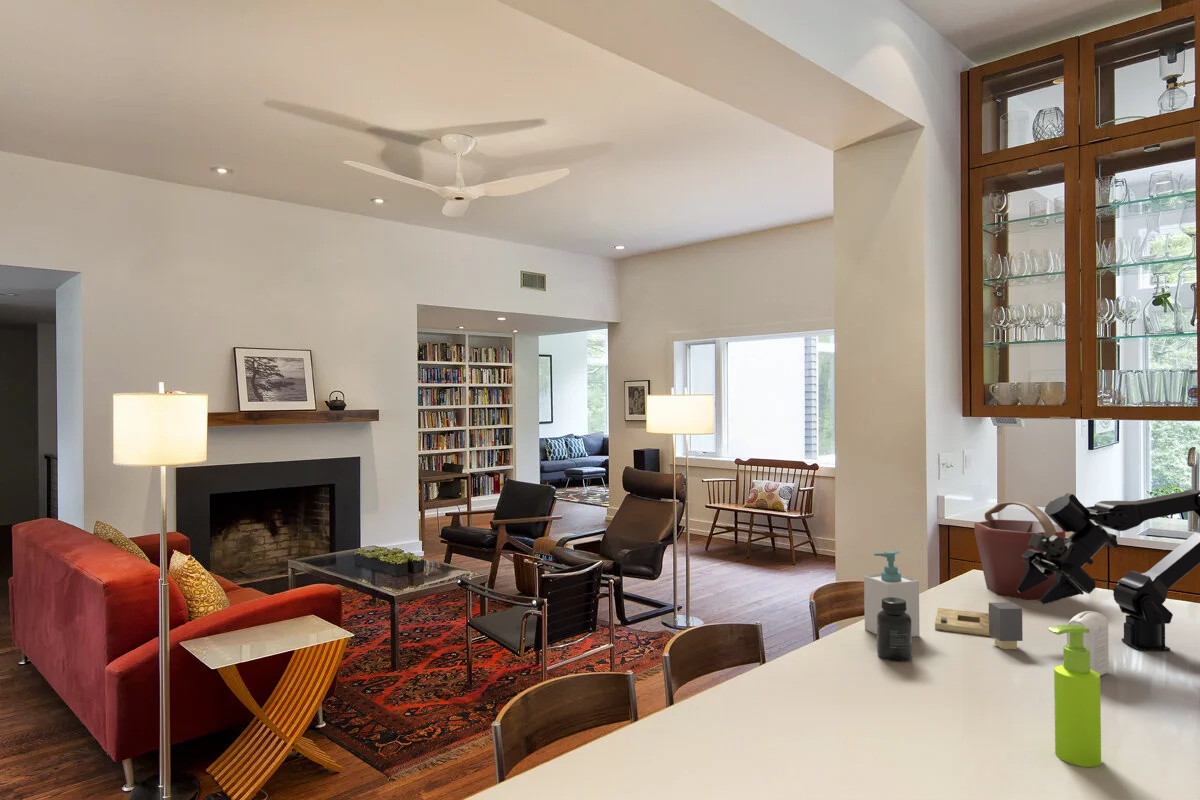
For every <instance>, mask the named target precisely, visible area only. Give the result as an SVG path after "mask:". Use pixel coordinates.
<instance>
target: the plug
mask: <svg viewBox="0 0 1200 800" xmlns="http://www.w3.org/2000/svg"><path fill="white" fill-rule="evenodd" d="M988 613H989V634H990V635H991V636H990V637H992V636H993V637H992V638H993V639H994V645H996V646H997V648H1000V649H1001V650H1017V649H1018V642H1022V641H1024V639H1023V638H1024V637H1023V636H1024V635H1023V608H1021V607H1020V606H1018V605H1016V604H1015V603H1012V602H988Z"/></svg>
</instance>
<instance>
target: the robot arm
mask: <svg viewBox="0 0 1200 800" xmlns="http://www.w3.org/2000/svg"><path fill="white" fill-rule="evenodd" d="M1188 512H1193V514H1195V516H1197V517H1199V518H1200V490H1199V489H1193V488H1191V489H1186V490H1183V491H1180V492H1176V493H1175V492H1174V493H1170V494H1169V493H1168V494H1164V495H1159V496H1154V497H1148V498H1143V499H1139V500H1131V501H1130V500H1129V501H1128V500H1101V501H1098V502H1096V503H1095V504H1094V506H1084V504H1083V503H1081V501H1080V500H1079V499H1078V498H1077V496H1076V495H1075V494H1073V493H1069V492H1067V493H1065V495H1063V496H1060V497H1058V498H1056V499H1053V500H1052V501H1050V502H1049V503H1047V505H1046V506H1045V509H1044V513H1045V514H1046V515H1047V516H1048V518H1049V519H1050V520H1052V521H1053V522H1054V523H1055V525H1058V526H1059V527H1060V528H1061V529H1062V530H1063V531H1065V533H1070V532H1071V533H1072V534H1070V536H1069V537H1068V538H1067V539H1065V540H1064V539H1062V538H1060V537H1058V536H1054V535H1053V536H1052V537H1051V538H1049V537H1046V536H1043V535H1040V534H1037V533H1033V535H1032V537H1031V539H1030V541H1029V543H1028V545H1029V546H1031V547H1035V548H1037V549H1040V550H1042V551H1044V553H1043V554H1044V555H1045V556H1046V557H1047V558H1048V559H1049V560H1048V559H1047V558H1046V557H1045V556H1044V555H1043V554H1042V553H1041V552H1039V551H1036V550H1033V549H1027V550H1026V551H1025V552H1024V553H1023V554H1022V557H1024V558H1023V561H1024V562H1025V567H1026V569H1025V572H1024V574H1023V576H1022V579H1021V581H1020V583H1019V585H1018V587H1017V591H1018V592H1019V593H1022V592H1024V591H1027V590H1028V589H1030V588H1032V587H1034V586H1036V585H1038V584H1040V583H1042V582H1044V581H1045V580H1047V579H1048V578H1047V577H1046V576H1050V575H1052V574H1053V573H1056V577H1055V582H1054V583H1053V584H1052V585H1051V587H1050V588H1049V589H1048V590H1047V591H1046V593H1045V594H1044V595H1043V596H1042V598H1041V599H1040V600H1039V602H1040V603H1041V604H1042V605H1047V604H1051V603H1053V602H1057V601H1059V600H1063V599H1066V598H1070V597H1075V596H1078V595H1084V593H1086V594H1087V595H1091V593H1092V592H1093V591H1094V590H1095V589H1096V581H1095V580H1094V578H1093V577H1091V576H1090V575H1089V573H1087V572H1086V571H1085V570H1084V569H1083V567H1084V566H1085V565H1089V566H1091V565H1092V564H1093V563H1094V561H1093V560H1092V558H1093V557H1094V556H1095V555H1096V554H1097V553H1098V552H1100V550H1101V549H1102V548H1103V547H1104V546H1108V547H1112V548H1115V549H1117V548H1118V547H1119V544H1118V540H1117V537H1118V535H1116V534H1114V533H1109V532H1108V531H1107V530H1106V529H1111V530H1114V531H1116V532H1126V531H1128V530H1130V529H1133V528H1136V527H1139V526H1140V525H1141V524H1142V523H1143V522H1145V521H1148V520H1151V519H1153V520H1154V519H1158V518H1162V517H1168V516H1172V515H1178V514H1183V513H1188ZM1092 521H1093V522H1094V523H1095V524H1094V523H1093V522H1092ZM1105 528H1106V529H1105ZM1199 564H1200V520H1199V521H1198V526H1197V530H1196V531H1195V532H1194V533H1193V534H1192V535H1190V536H1189V537H1187V539H1185V541H1183V542H1182V543H1180V544H1179V545H1178V546H1177V547H1176V548H1175V549H1173V550H1171V552H1170V553H1168V554H1167V555H1166V556H1165V557H1163V558H1162V559H1161V560H1159V562H1157V563H1155V564H1154V566H1152V567H1151V568H1150V569H1149V570H1147V571H1146V572H1142V573H1141V572H1138V571H1134V570H1130V571H1128V572H1127V573H1125V575H1124V576H1123V577H1122V578H1120V579H1118V580H1116V581H1115V582H1116V584H1115V586H1114V587H1113V589H1112V590H1113V594H1112V595H1113V600H1114V601H1115V603H1116V604H1117V605H1118V606H1119V609H1120V611H1121V613H1123V614H1126V615H1125V622H1124V623H1123V637H1122V638H1121V641H1122V642H1123V643H1125V644H1127V645H1129V646H1131V647H1133V648H1135V649H1137V650H1138V651H1162V652H1163V651H1168V652H1169V651H1171V647H1169V646H1166V624H1168V625H1169V624H1171V622H1172V619H1173V616H1174V615H1173V613H1172V612H1171V611H1170V610H1169V609H1168V608H1167V607H1166V606H1165V605H1164V603H1165V601H1166V600H1167V595H1168V592H1169V589H1170V588H1172V586H1174V585H1175V584H1177V582H1179V581H1180V580H1181V579H1182V578H1183V577H1185V576H1186V575H1187V574H1189V572H1191V571H1192V570H1193V569H1194V568H1196V567H1197V566H1198V565H1199Z"/></svg>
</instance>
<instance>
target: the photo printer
mask: <svg viewBox="0 0 1200 800" xmlns="http://www.w3.org/2000/svg"><path fill="white" fill-rule="evenodd" d="M1067 625H1080V626H1083V627H1085V628H1088V629H1089V633H1083V646H1084V647H1086V648H1087V649H1089V650H1090V669H1091V670H1094V671H1096V672H1097V673H1099V674H1100V677H1101V676H1104V675H1106V674H1108V672H1109V669H1110V662H1109V661H1110V660H1109V657H1110V654H1109V653H1110V652H1109V651H1110V650H1109V649H1110V648H1109V645H1110V644H1109V621H1108V619H1107V617H1106V616H1105V615H1104V614H1102V613H1100V612H1098V611H1093V610H1085V611H1082V612H1080V613H1077V614H1076V615H1074V616H1073V617H1072V618H1071V619H1070V620H1069V622H1068V623H1067ZM1066 641H1067V642H1066V645H1068V644H1070V633H1066Z"/></svg>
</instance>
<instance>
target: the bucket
mask: <svg viewBox="0 0 1200 800" xmlns="http://www.w3.org/2000/svg"><path fill="white" fill-rule="evenodd" d="M1010 505H1016V506H1017V505H1018V506H1020V507H1023V508H1025V509H1026V510H1027V511H1029V513H1030V514H1033V516H1035V518H1036V519H1037V520H1038V521H1035V520H1020V519H1019V520H1018V519H1017V520H1016V519H996V518H994V517H993V515H992V514H996V513H1000V512H1001V511H1003V510H1004V509H1005V508H1006V507H1007V506H1010ZM983 515H984V520H982V521H976V522H974V536H975V541H976V545H977V549H978V553H979V554H978V555H979V559H980V563H981V567H982V571H983V576H984V582H985V585H986V589H987V590H989V591H990V592H992V593H994V594H995V595H997V596H1001V597H1006V598H1012V599H1019V600H1023V601H1037V600H1038V601H1040V599H1041V598H1042V596H1043V595H1044V594H1045V593H1046V591H1047V590H1048V589H1049V588H1050V587H1051V585H1052V584H1053V583H1054V582H1055V577H1056V573H1053V574H1052V575H1050V576H1046V577H1047V578H1048V579H1047V580H1045V581H1044V582H1042V583H1040V584H1038V585H1036V586H1034V587H1032V588H1030V589H1028V590H1027V591H1024V592H1022V593H1019V592H1018V591H1017V587H1018V585H1019V583H1020V581H1021V579H1022V576H1023V574H1024V572H1025V569H1026V567H1025V562H1024V561H1023V558H1024V557H1022V554H1023V553H1024V552H1025V551H1026V550H1027V549H1033V550H1036V551H1039V552H1041V553H1042V554H1043V553H1044V551H1042V550H1040V549H1037V548H1035V547H1031V546H1029V545H1028V543H1029V541H1030V539H1031V537H1032V535H1033V533H1037V534H1040V535H1043V536H1046V537H1049V538H1051V537H1052V536H1053V535H1054V536H1058V537H1060V538H1062V539H1064V540H1066V535H1067V534H1066V532H1065V531H1063V530H1062V529H1061V528H1060V527H1059V526H1058V525H1057V524H1054V523H1053V522H1052V521H1051V520H1052V519H1051V518H1050V517H1049V516H1048V515H1047V514H1046V513H1045V511H1042V510H1041V509H1040V508H1039V507H1037V506H1036V505H1034V504H1032V503H1029V502H1024V501H1002V502H998V503H997V504H995V505H994V506H993V507H991V508H989V509H988V510H986V512H984V514H983ZM1043 555H1044V554H1043ZM1044 556H1045V555H1044ZM1045 557H1046V556H1045ZM1046 558H1047V557H1046ZM1047 559H1048V558H1047ZM1048 560H1049V559H1048Z"/></svg>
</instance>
